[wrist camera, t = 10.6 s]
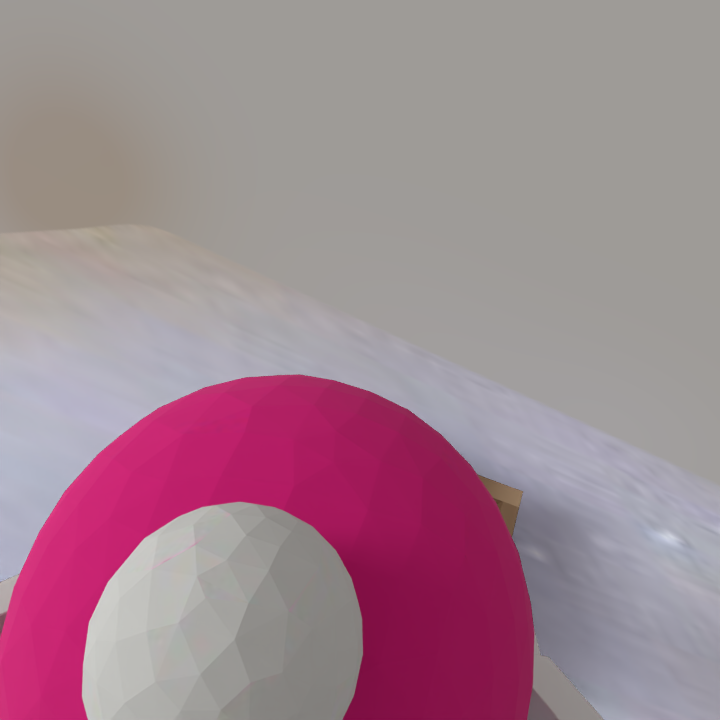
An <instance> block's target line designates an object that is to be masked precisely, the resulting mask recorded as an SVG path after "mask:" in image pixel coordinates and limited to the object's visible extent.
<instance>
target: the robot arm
mask: <svg viewBox="0 0 720 720" xmlns="http://www.w3.org/2000/svg"><path fill="white" fill-rule="evenodd" d="M19 575H20V574H18V575H16V576H13V577H11V578H9V579H6V580H4V581H2V582H0V637H1V633H2V629H3V625H4V622H5V618H6V614H7V611H8V607H9V603H10V600H11V596H12V592H13V588H14V586H15V583H16V581H17V579H18V577H19ZM527 720H604V719H603V718H602V717H601V716H600V715H599V714H598V712H597V711H596V710H595V709H594V708H593V707H592V706H591V705H590V703H589V702H588V701H587V700H586V699H585V698H584V697H583V695H582V694H581V693H580V692H579V691H578V690H577V689H576V687H575V686H574V685H573V684H572V683H571V682H570V681H569V680H568V678H567V677H566V676H565V675H564V674H563V673H562V672H561V670H560V669H559V668H558V667H557V666H556V665H555V664H554V662H553V661H552V660H551V659H550V658H549V657H546V656H541V654H540V650H539V646H538V642H537V639H536V635H535V631H534V669H533V688H532V694H531V699H530V705H529V711H528V717H527Z"/></svg>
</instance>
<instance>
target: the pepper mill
mask: <svg viewBox="0 0 720 720" xmlns="http://www.w3.org/2000/svg"><path fill="white" fill-rule="evenodd" d="M533 669H534V626H533V617H532V609H531V602H530V598H529V594H528V590H527V586H526V581H525V577H524V573H523V569H522V565H521V561H520V557H519V552H518V550H517V548H516V546H515V544H514V541H513V539H512V537H511V535H510V532H509V530H508V528H507V526H506V523H505V521H504V519H503V517H502V515H501V512H500V510H499V508H498V506H497V503H496V502H495V500H494V499H493V497H492V496H491V494H490V493H489V491H488V490H487V488H486V487H485V485H484V484H483V482H482V481H481V480H480V478H479V477H478V475H477V474H476V472H475V471H474V469H473V468H472V466H471V465H470V464H469V463H468V462H467V461H466V460H465V459H464V458H463V457H462V456H461V455H460V454H459V453H458V452H457V451H456V450H455V448H454V447H453V446H452V445H451V444H450V443H449V442H448V441H447V440H446V439H445V438H444V437H443V436H442V435H441V434H440V433H438V432H437V431H436V430H434V429H433V428H432V427H430V426H429V425H428V424H426V423H425V422H424V421H422V420H421V419H420V418H419V417H417V416H416V415H415V414H413V413H412V412H411V411H409V410H408V409H406V408H403V407H401V406H399V405H397V404H395V403H393V402H391V401H389V400H387V399H385V398H383V397H381V396H379V395H377V394H374V393H372V392H370V391H366V390H363V389H360V388H357V387H354V386H350V385H347V384H344V383H341V382H338V381H334V380H329V379H323V378H317V377H311V376H305V375H277V376H261V377H246V378H241V379H237V380H233V381H229V382H225V383H221V384H217V385H213V386H209V387H205V388H202V389H200V390H198V391H196V392H193V393H191V394H189V395H187V396H184V397H182V398H180V399H178V400H176V401H173V402H171V403H169V404H167V405H164V406H162V407H160V408H158V409H157V410H155V411H154V412H152V413H151V414H149V415H148V416H146V417H145V418H143V419H142V420H140V421H139V422H138V423H136V424H135V425H134V426H132V427H131V428H130V429H128V430H127V431H126V432H124V433H123V434H122V435H120V436H119V437H118V438H117V439H116V440H114V441H113V442H112V443H111V444H110V445H108V446H107V447H106V448H105V449H104V450H102V451H101V452H100V453H99V454H98V455H97V456H96V457H95V458H94V459H93V460H92V462H91V463H90V464H89V465H88V466H87V467H86V468H85V469H84V471H83V472H82V473H81V474H80V475H79V476H78V477H77V478H76V479H75V481H74V482H73V483H72V484H71V485H70V486H69V487H68V488H67V490H66V491H65V492H64V494H63V495H62V497H61V498H60V500H59V502H58V503H57V505H56V506H55V508H54V509H53V511H52V513H51V514H50V516H49V517H48V519H47V521H46V522H45V524H44V525H43V527H42V529H41V530H40V532H39V534H38V536H37V538H36V540H35V542H34V545H33V547H32V549H31V551H30V553H29V555H28V558H27V560H26V562H25V564H24V566H23V568H22V570H21V573H20V575H19V577H18V579H17V581H16V583H15V586H14V588H13V592H12V596H11V600H10V603H9V607H8V611H7V614H6V618H5V622H4V625H3V629H2V633H1V637H0V720H527V717H528V711H529V705H530V699H531V694H532V688H533Z"/></svg>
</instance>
